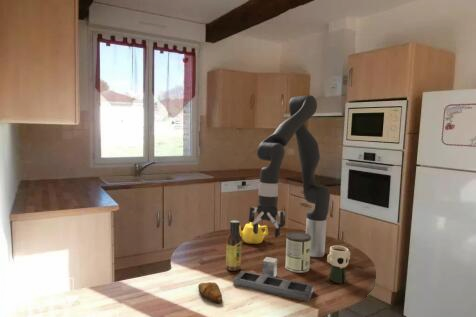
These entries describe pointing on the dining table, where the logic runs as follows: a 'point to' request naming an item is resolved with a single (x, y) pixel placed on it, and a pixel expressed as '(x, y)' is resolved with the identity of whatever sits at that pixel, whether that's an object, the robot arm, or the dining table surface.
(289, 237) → the coffee can
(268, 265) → the white rectangular block
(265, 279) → the tray
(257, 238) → the teapot
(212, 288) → the croissant
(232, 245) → the sauce bottle
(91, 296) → the dining table surface
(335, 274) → the character mug
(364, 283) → the dining table surface
